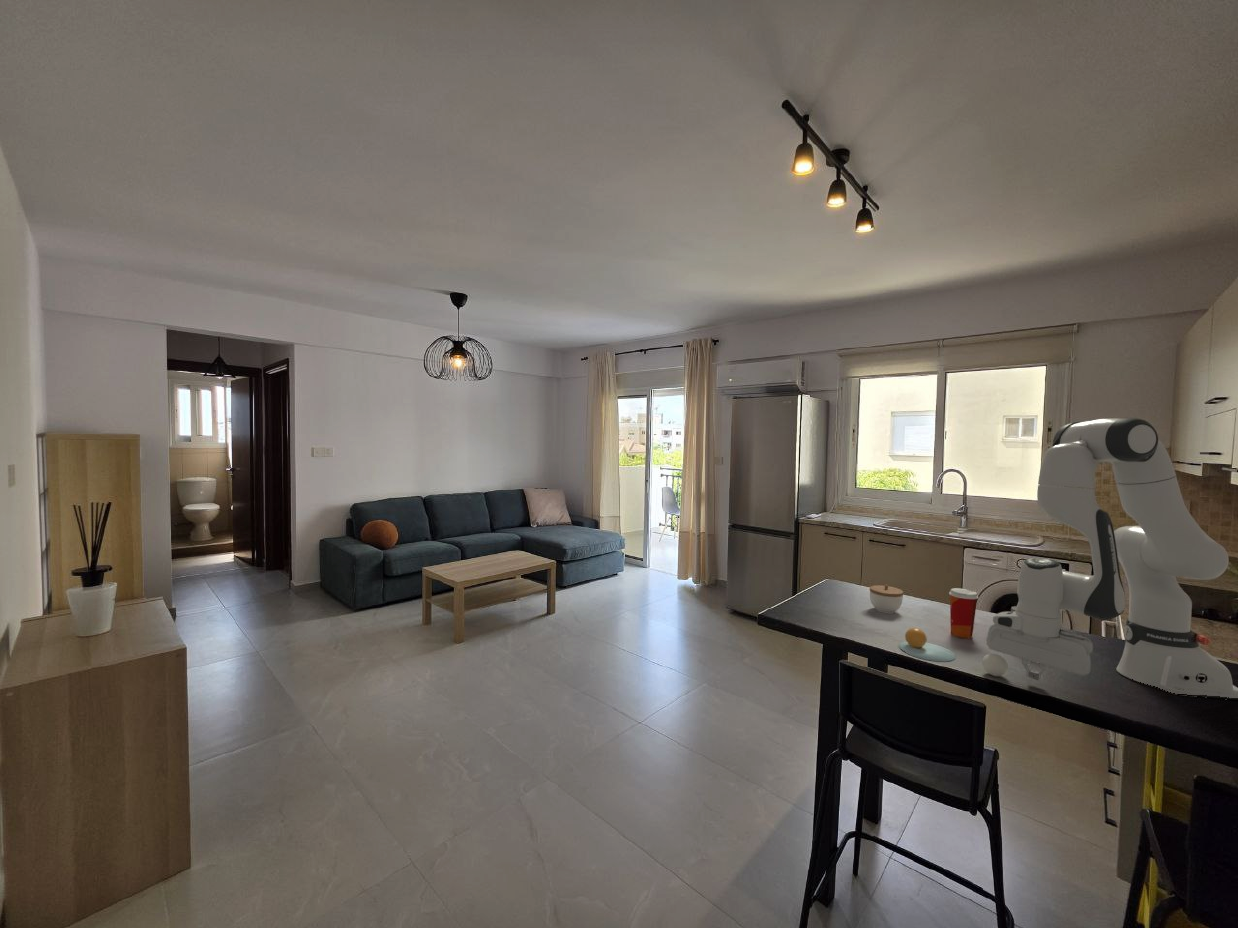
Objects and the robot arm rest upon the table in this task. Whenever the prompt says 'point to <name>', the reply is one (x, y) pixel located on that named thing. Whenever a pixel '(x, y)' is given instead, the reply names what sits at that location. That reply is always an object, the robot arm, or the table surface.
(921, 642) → the object ball
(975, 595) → the paper cup
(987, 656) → the cue ball
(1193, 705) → the table surface
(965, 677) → the table surface
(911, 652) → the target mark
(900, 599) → the lidded jar
